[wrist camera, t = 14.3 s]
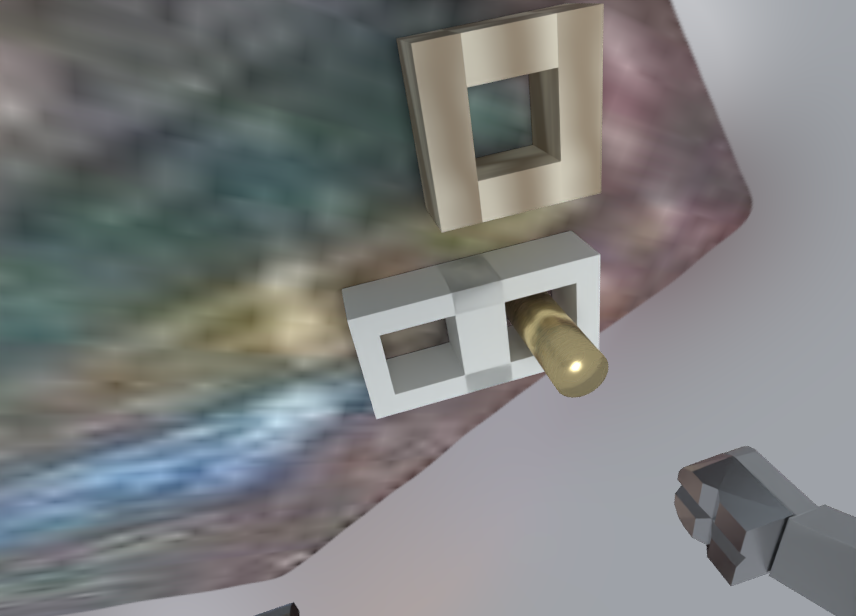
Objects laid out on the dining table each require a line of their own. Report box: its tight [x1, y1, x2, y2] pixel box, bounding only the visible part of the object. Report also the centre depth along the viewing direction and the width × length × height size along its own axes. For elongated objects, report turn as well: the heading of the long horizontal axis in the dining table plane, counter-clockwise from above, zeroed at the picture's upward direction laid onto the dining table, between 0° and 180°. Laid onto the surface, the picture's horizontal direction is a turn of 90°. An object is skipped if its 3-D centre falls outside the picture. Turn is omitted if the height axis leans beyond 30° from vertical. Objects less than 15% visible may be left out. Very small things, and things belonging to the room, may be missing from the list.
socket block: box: [396, 3, 603, 232], centre depth 36 cm, size 12×12×5 cm
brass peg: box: [505, 291, 608, 397], centre depth 42 cm, size 4×4×12 cm
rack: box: [342, 231, 600, 419], centre depth 44 cm, size 20×10×5 cm, turn 100°
